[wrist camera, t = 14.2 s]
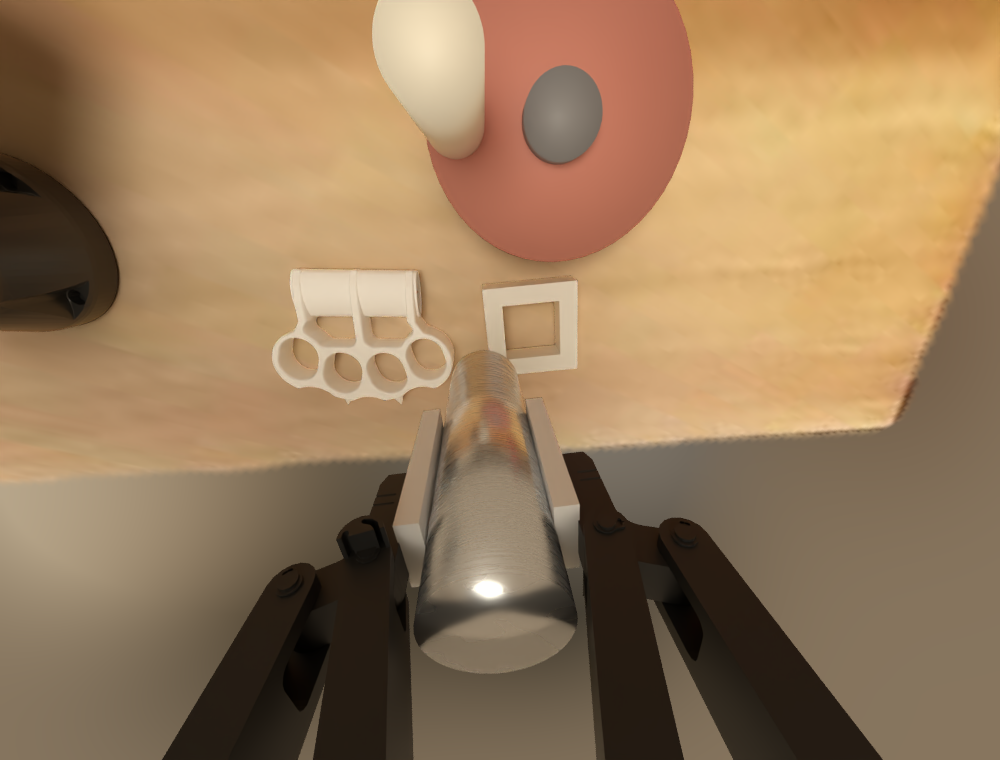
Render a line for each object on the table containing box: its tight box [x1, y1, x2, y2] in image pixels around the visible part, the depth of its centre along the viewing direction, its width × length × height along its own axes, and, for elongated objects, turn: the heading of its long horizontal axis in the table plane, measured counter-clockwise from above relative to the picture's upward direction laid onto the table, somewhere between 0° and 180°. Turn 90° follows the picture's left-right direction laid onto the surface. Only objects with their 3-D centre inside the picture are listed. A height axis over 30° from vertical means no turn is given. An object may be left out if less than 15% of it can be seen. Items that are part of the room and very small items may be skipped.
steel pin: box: [414, 350, 578, 674], centre depth 15 cm, size 4×4×14 cm
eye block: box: [482, 276, 578, 374], centre depth 36 cm, size 9×9×3 cm
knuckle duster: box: [272, 268, 455, 405], centre depth 37 cm, size 3×18×15 cm
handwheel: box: [372, 0, 693, 262], centre depth 19 cm, size 18×18×14 cm
